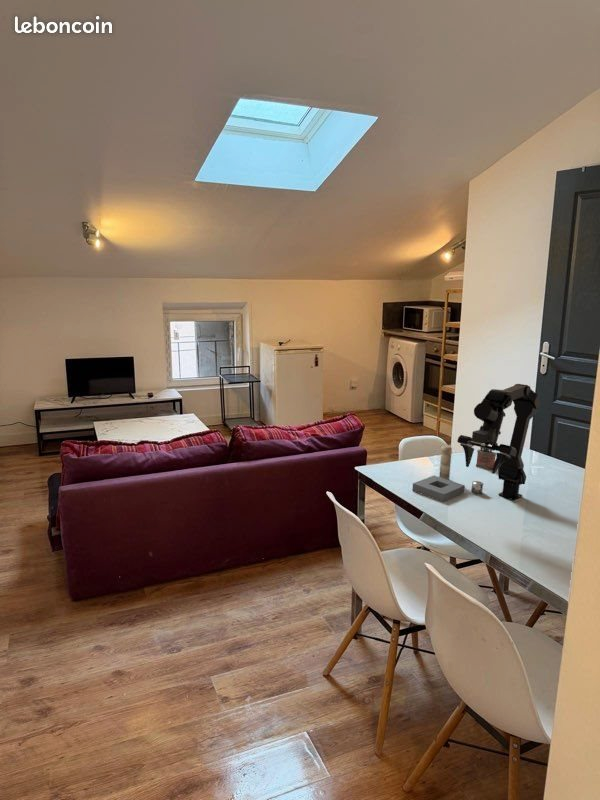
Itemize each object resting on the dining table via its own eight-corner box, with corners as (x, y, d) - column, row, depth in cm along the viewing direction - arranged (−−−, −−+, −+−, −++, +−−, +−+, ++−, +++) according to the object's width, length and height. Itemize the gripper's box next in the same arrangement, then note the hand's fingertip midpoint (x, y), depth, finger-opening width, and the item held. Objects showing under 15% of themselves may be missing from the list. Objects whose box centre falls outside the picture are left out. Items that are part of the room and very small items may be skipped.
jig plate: (433, 482, 213) (434, 475, 212) (464, 492, 203) (464, 485, 202) (412, 490, 204) (412, 483, 203) (443, 501, 194) (443, 494, 193)
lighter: (474, 467, 232) (476, 445, 230) (477, 464, 235) (479, 443, 233) (493, 470, 228) (495, 448, 226) (495, 468, 231) (497, 446, 228)
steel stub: (474, 489, 206) (475, 480, 205) (484, 492, 203) (485, 483, 202) (469, 492, 203) (470, 482, 202) (478, 495, 200) (479, 485, 200)
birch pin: (442, 477, 219) (445, 445, 216) (451, 480, 216) (453, 447, 213) (437, 479, 216) (439, 447, 213) (445, 482, 213) (448, 449, 210)
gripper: (456, 415, 179) (444, 459, 178) (510, 426, 166) (497, 473, 165) (469, 422, 187) (458, 464, 186) (522, 433, 174) (510, 478, 173)
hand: (479, 470), depth 177 cm, fingers open, 9 cm apart
